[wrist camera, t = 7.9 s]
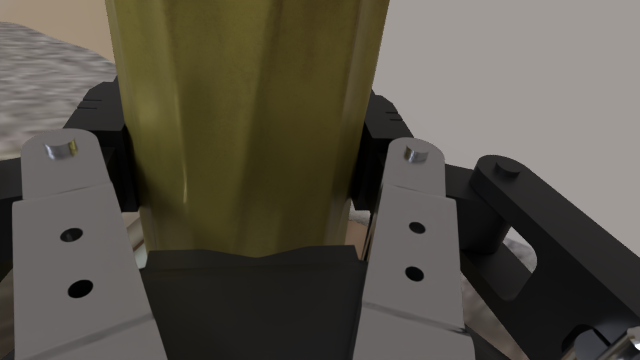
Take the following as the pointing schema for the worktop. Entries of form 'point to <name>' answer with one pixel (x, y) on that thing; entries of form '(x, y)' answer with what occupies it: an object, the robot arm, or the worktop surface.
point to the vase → (245, 117)
